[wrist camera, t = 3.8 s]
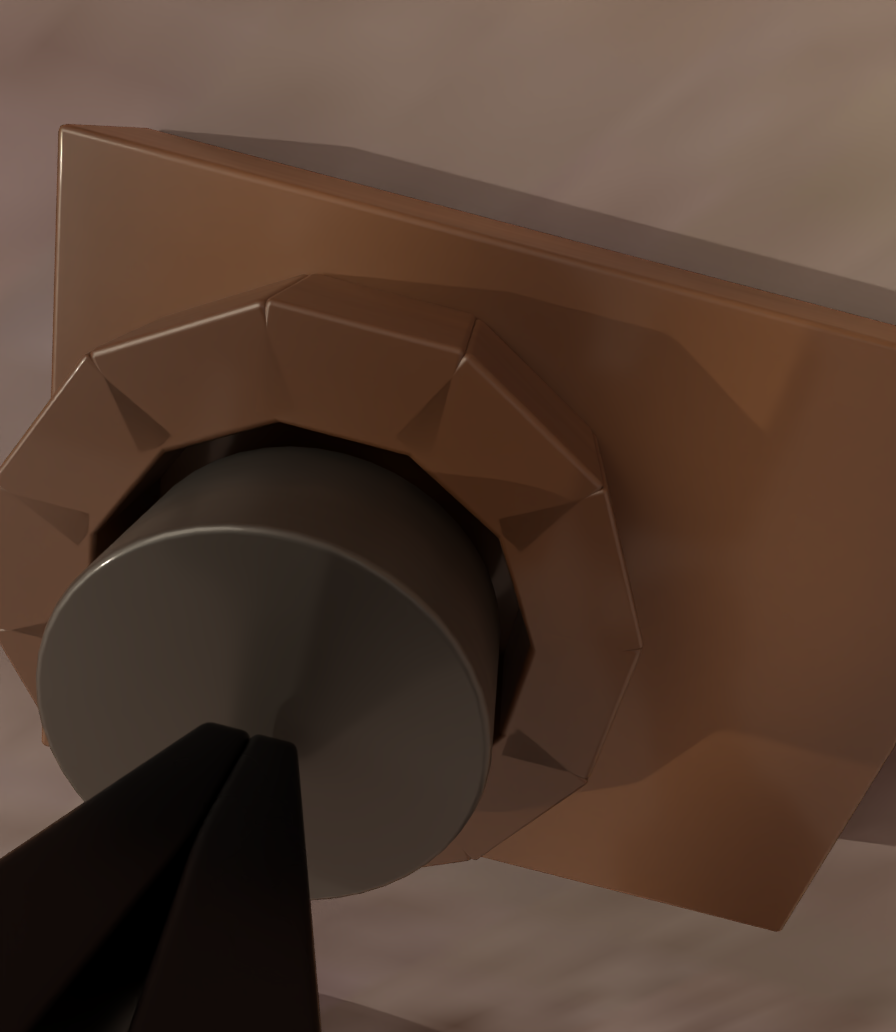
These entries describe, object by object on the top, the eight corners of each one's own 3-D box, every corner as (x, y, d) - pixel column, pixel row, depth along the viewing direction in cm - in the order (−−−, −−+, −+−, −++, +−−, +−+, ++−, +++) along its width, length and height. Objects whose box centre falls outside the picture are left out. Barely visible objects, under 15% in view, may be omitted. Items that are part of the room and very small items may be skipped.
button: (548, 502, 9) (551, 600, 7) (450, 803, 10) (432, 946, 9) (143, 397, 9) (35, 467, 7) (118, 719, 10) (28, 844, 9)
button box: (1006, 354, 11) (1240, 456, 7) (747, 829, 15) (818, 1051, 11) (143, 127, 11) (-53, 115, 7) (106, 665, 15) (-35, 835, 11)
